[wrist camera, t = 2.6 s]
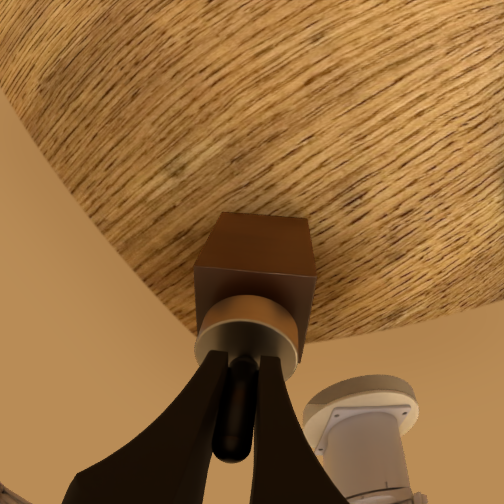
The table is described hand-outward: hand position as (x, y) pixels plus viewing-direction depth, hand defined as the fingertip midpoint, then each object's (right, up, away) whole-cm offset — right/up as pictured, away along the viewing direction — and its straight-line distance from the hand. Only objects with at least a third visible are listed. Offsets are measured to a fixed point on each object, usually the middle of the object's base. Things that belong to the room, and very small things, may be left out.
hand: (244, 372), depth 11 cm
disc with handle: (0, +1, +2) cm, 2 cm away
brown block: (+1, +4, +8) cm, 10 cm away
